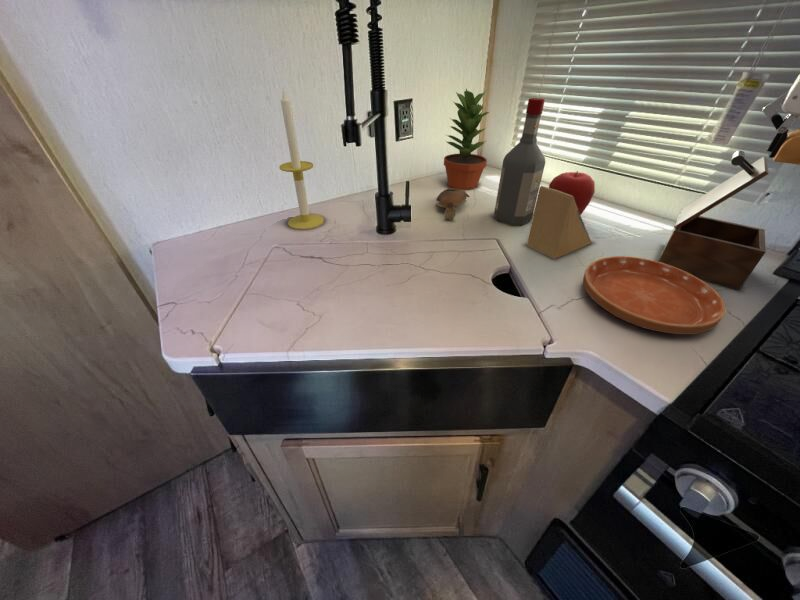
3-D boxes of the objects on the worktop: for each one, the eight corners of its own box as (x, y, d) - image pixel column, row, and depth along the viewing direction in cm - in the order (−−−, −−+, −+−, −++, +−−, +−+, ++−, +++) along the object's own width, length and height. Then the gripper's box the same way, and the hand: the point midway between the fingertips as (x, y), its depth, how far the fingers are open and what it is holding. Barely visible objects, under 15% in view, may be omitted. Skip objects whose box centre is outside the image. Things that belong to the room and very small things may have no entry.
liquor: (534, 218, 100) (564, 99, 82) (518, 228, 95) (546, 102, 77) (506, 210, 105) (528, 95, 87) (489, 218, 100) (509, 99, 82)
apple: (562, 207, 107) (575, 162, 99) (594, 221, 99) (611, 173, 91) (532, 214, 103) (543, 167, 95) (563, 229, 94) (578, 179, 86)
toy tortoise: (433, 222, 100) (468, 218, 97) (430, 205, 97) (466, 200, 95) (441, 199, 116) (471, 195, 113) (439, 183, 113) (470, 179, 110)
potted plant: (484, 179, 129) (498, 84, 111) (481, 193, 117) (495, 89, 99) (445, 176, 132) (451, 83, 114) (437, 189, 120) (444, 88, 102)
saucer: (748, 334, 60) (762, 317, 58) (629, 348, 58) (638, 331, 55) (652, 266, 79) (660, 252, 76) (558, 275, 76) (563, 260, 74)
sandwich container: (593, 242, 88) (615, 183, 79) (554, 259, 81) (573, 196, 72) (564, 230, 94) (581, 173, 85) (525, 245, 87) (540, 185, 78)
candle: (284, 229, 94) (253, 90, 75) (292, 215, 102) (267, 85, 83) (321, 229, 94) (300, 89, 75) (326, 214, 102) (309, 85, 83)
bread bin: (740, 265, 79) (764, 229, 74) (738, 290, 71) (766, 251, 66) (664, 246, 87) (681, 212, 81) (655, 266, 79) (674, 230, 73)
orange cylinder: (807, 165, 60) (826, 137, 57) (773, 161, 62) (790, 133, 59) (803, 157, 64) (821, 130, 61) (772, 153, 66) (787, 127, 64)
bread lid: (767, 158, 69) (747, 140, 69) (768, 174, 61) (746, 152, 62) (684, 211, 81) (667, 195, 82) (676, 229, 73) (658, 211, 74)
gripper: (795, 31, 54) (729, 155, 65) (970, 28, 45) (861, 172, 56) (792, 32, 59) (731, 147, 69) (950, 30, 50) (852, 162, 61)
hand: (790, 157), depth 63 cm, fingers closed on orange cylinder, 4 cm apart
